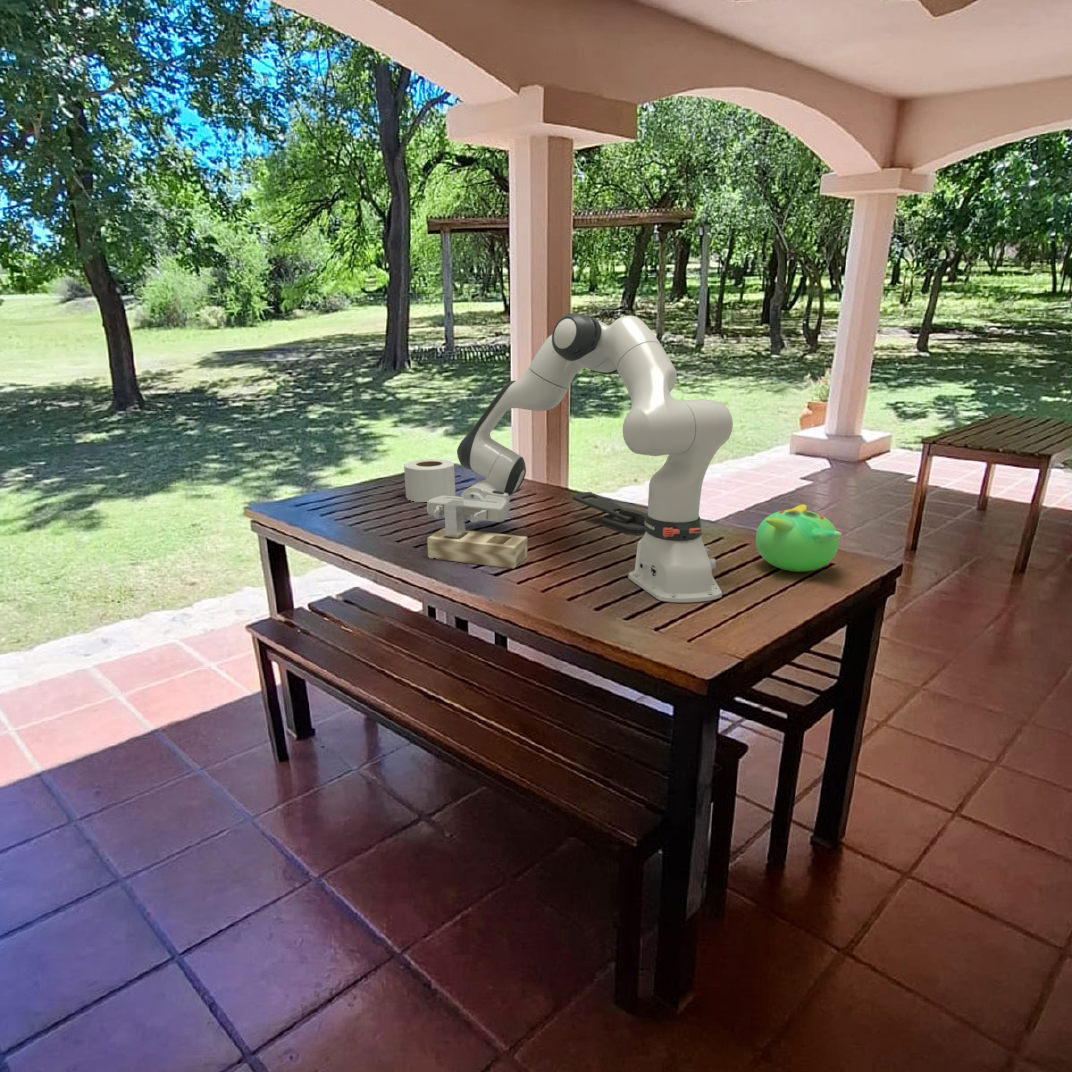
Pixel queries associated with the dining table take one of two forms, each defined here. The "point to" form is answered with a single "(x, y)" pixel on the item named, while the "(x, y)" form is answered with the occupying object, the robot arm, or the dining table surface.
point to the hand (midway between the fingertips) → (454, 516)
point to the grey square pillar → (454, 519)
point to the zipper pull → (615, 514)
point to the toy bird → (797, 540)
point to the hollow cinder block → (479, 548)
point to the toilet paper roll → (429, 479)
